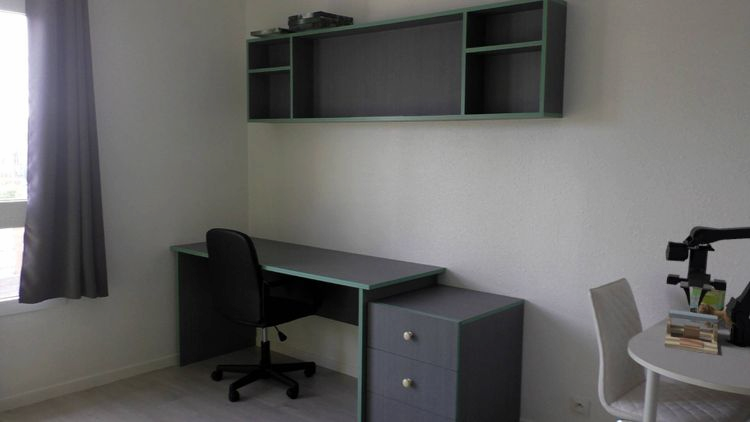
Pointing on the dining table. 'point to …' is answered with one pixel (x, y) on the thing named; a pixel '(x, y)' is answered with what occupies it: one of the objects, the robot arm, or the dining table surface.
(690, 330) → the walnut block
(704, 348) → the puzzle board
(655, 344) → the dining table surface
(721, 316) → the lion figurine
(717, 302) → the tea box
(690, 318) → the sliding slat
